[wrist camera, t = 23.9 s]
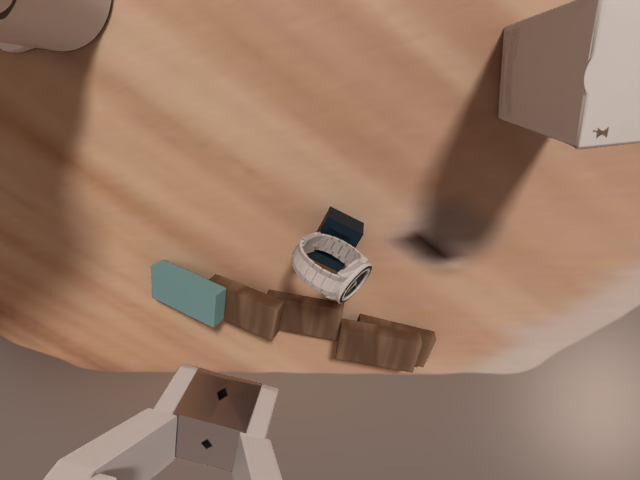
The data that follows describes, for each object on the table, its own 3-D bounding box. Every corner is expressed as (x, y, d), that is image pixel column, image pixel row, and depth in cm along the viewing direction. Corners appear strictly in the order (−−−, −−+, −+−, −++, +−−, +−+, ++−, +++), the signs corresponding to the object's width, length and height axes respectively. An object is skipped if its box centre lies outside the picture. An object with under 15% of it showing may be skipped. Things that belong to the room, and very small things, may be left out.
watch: (355, 266, 44) (352, 323, 34) (297, 237, 43) (276, 288, 34) (378, 230, 42) (382, 280, 32) (316, 198, 41) (300, 241, 31)
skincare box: (565, 112, 34) (700, 145, 20) (491, 120, 35) (572, 156, 21) (581, 9, 31) (758, -37, 17) (499, 21, 32) (601, -12, 18)
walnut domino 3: (335, 358, 47) (412, 372, 46) (340, 329, 44) (422, 343, 44) (336, 347, 48) (411, 361, 48) (342, 318, 46) (420, 332, 46)
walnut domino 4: (350, 349, 48) (423, 367, 48) (359, 320, 46) (436, 339, 46) (351, 339, 50) (421, 356, 50) (360, 311, 48) (433, 329, 48)
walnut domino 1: (204, 312, 48) (271, 340, 46) (206, 281, 46) (278, 310, 44) (212, 304, 50) (278, 331, 48) (215, 274, 47) (284, 301, 45)
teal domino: (152, 297, 48) (213, 327, 45) (151, 265, 46) (216, 295, 43) (163, 290, 50) (223, 319, 47) (163, 259, 47) (226, 288, 45)
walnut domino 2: (263, 326, 48) (337, 340, 48) (266, 296, 46) (343, 310, 46) (267, 317, 50) (338, 330, 50) (269, 287, 48) (344, 301, 47)
